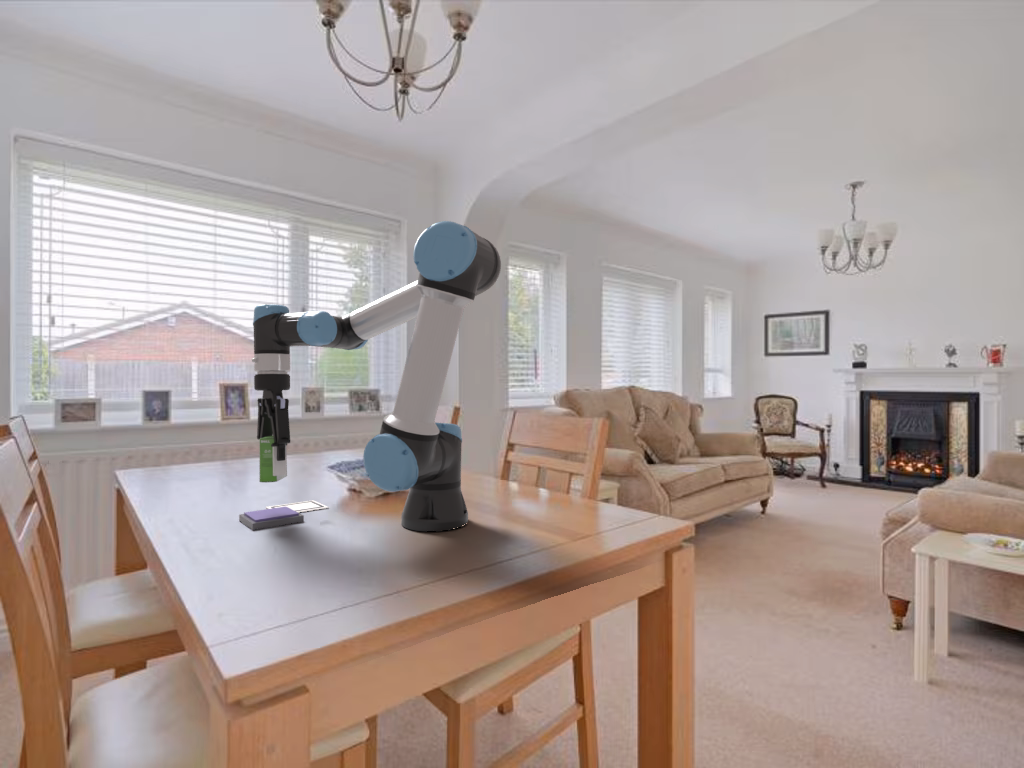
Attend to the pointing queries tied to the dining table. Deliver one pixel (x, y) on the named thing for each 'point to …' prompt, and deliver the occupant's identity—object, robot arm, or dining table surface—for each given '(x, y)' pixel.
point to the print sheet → (302, 506)
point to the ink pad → (270, 517)
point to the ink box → (267, 461)
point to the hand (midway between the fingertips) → (273, 472)
